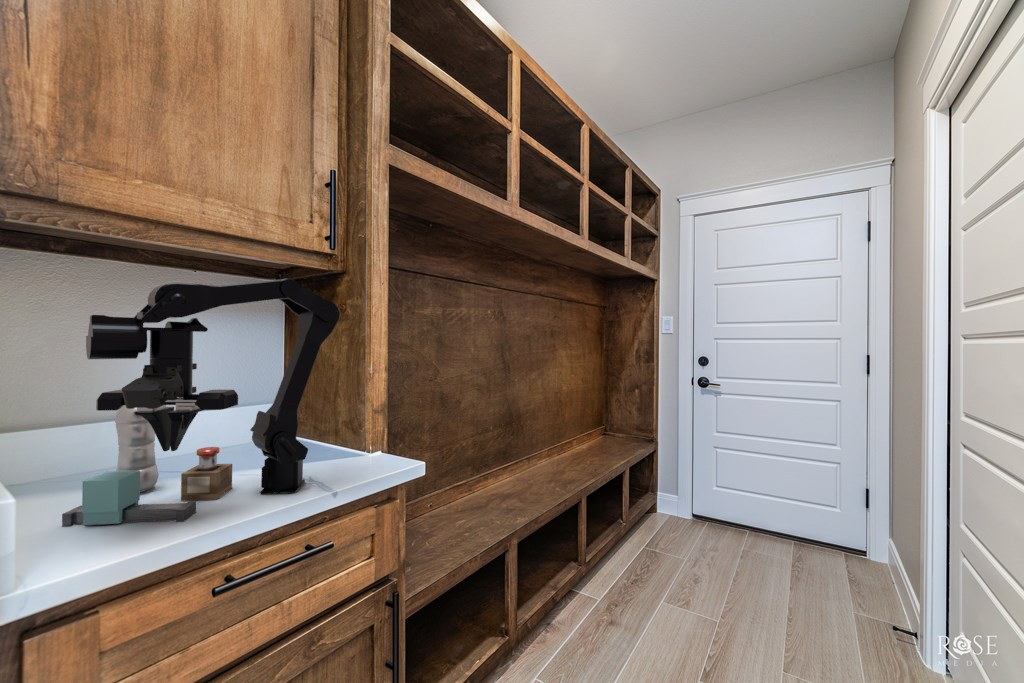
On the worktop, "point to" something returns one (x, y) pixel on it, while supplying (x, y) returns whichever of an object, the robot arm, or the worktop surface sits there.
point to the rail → (141, 513)
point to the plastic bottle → (136, 446)
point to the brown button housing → (206, 483)
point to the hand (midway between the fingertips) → (170, 450)
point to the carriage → (109, 496)
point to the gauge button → (208, 458)
